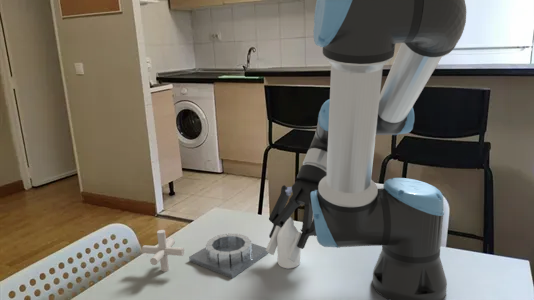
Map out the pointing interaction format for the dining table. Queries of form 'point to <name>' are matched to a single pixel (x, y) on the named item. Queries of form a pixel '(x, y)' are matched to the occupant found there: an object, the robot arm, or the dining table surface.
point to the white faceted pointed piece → (287, 244)
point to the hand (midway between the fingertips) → (280, 256)
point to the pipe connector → (162, 250)
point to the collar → (228, 254)
